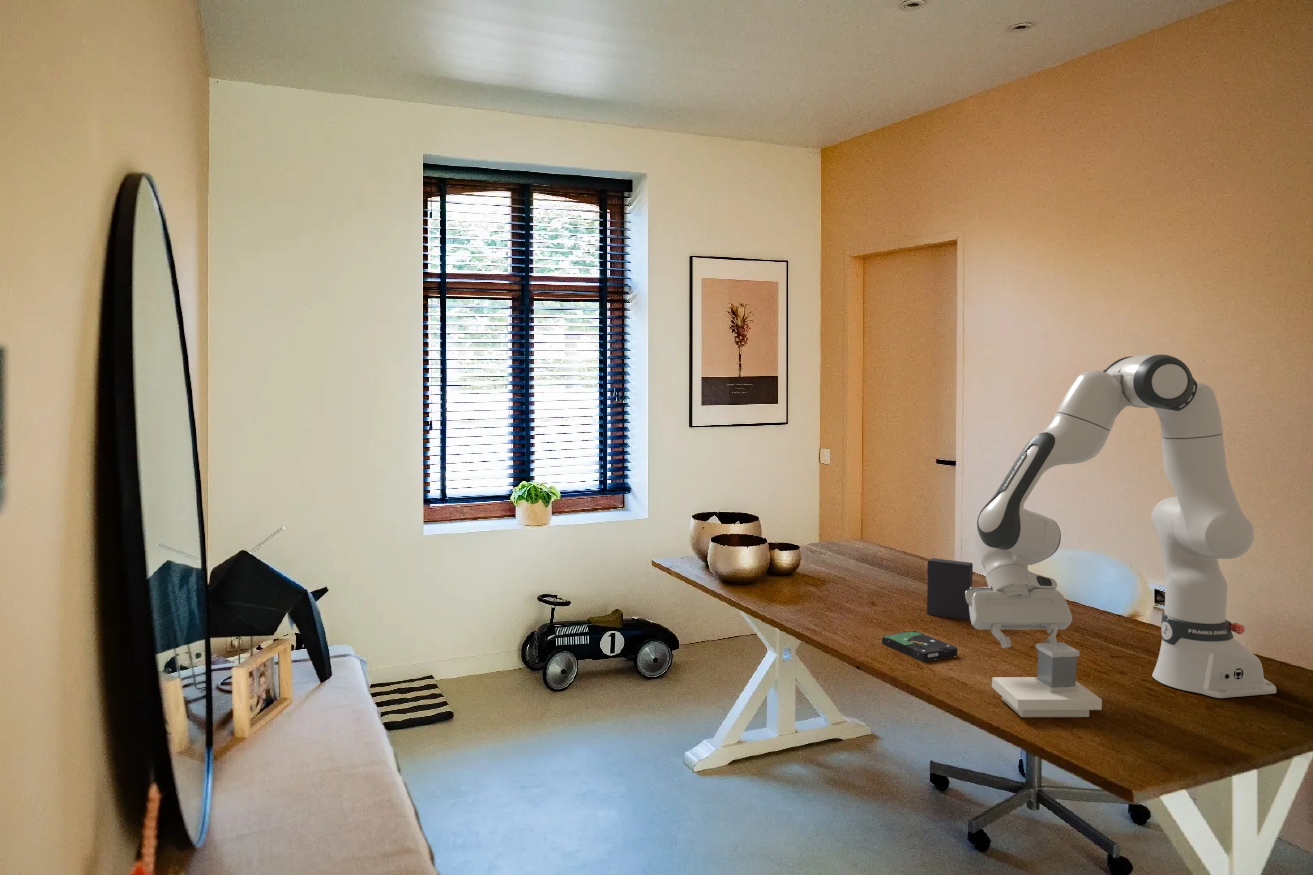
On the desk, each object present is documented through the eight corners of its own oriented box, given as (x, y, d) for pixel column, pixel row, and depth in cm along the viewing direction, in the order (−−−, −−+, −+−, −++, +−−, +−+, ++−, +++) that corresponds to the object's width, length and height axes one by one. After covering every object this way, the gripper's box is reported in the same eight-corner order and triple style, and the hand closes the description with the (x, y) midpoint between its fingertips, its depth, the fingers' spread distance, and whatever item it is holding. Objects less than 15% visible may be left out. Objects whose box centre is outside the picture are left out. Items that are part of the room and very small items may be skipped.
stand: (1069, 696, 178) (1070, 677, 177) (1100, 719, 166) (1101, 699, 165) (991, 696, 177) (992, 677, 177) (1017, 720, 165) (1017, 699, 165)
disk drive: (958, 659, 202) (914, 640, 216) (958, 647, 202) (914, 629, 215) (923, 665, 198) (880, 645, 211) (923, 653, 198) (880, 634, 211)
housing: (1060, 681, 175) (1062, 642, 174) (1077, 691, 169) (1079, 651, 169) (1034, 682, 174) (1036, 643, 173) (1050, 692, 169) (1052, 652, 168)
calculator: (971, 617, 234) (973, 562, 233) (967, 621, 231) (969, 565, 229) (930, 611, 240) (931, 557, 239) (925, 614, 237) (927, 560, 235)
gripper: (967, 579, 184) (984, 639, 175) (1063, 579, 185) (1084, 639, 176) (958, 594, 189) (974, 653, 180) (1052, 594, 190) (1072, 653, 181)
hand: (1029, 646), depth 178 cm, fingers open, 8 cm apart
